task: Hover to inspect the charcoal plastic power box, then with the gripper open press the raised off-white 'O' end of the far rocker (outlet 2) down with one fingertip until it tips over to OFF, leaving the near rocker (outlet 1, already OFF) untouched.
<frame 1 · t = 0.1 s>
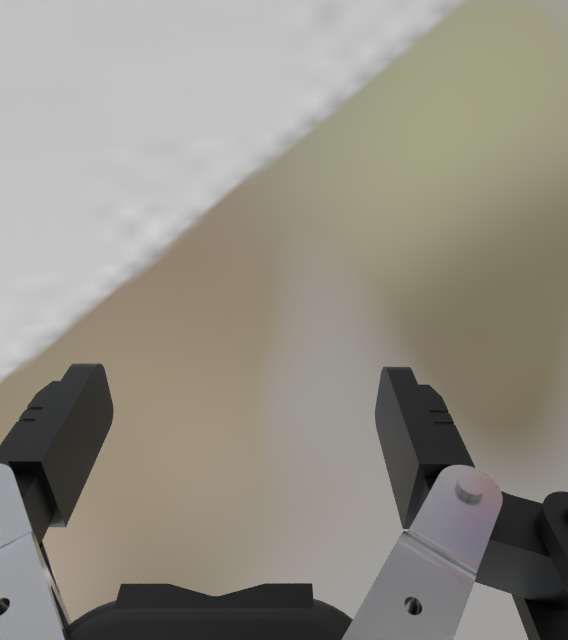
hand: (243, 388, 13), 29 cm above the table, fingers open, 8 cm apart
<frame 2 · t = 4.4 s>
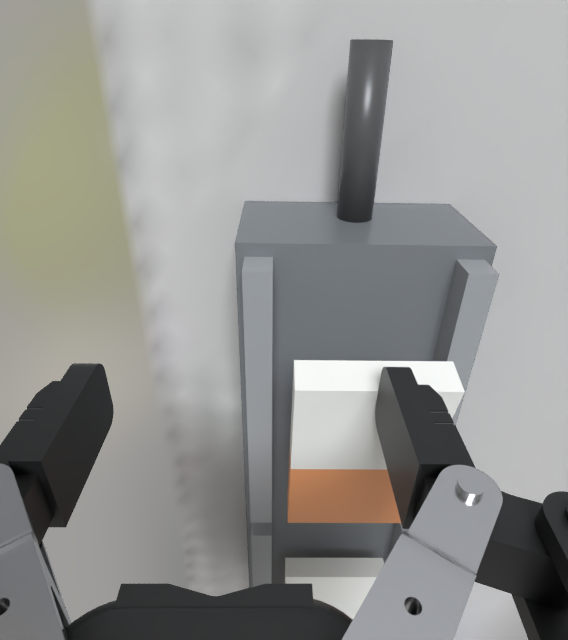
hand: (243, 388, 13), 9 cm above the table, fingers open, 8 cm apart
rocker 2: (357, 454, 17), point 8 cm above the table, hinge at 11.6°, touching gripper
power box: (326, 434, 27), on the table
rocker 1: (331, 636, 24), point 8 cm above the table, hinge at -15.0°
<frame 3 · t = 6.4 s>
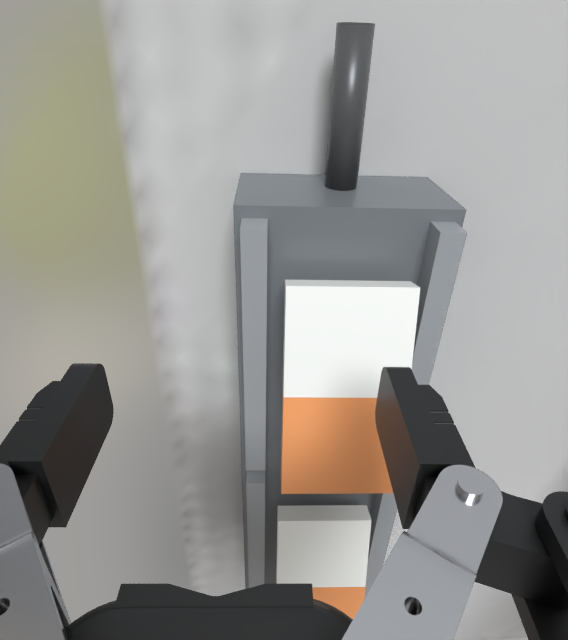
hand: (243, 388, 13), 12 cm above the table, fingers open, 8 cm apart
rocker 2: (343, 391, 18), point 8 cm above the table, hinge at -15.1°
power box: (315, 397, 29), on the table
rocker 1: (320, 578, 26), point 8 cm above the table, hinge at -15.0°
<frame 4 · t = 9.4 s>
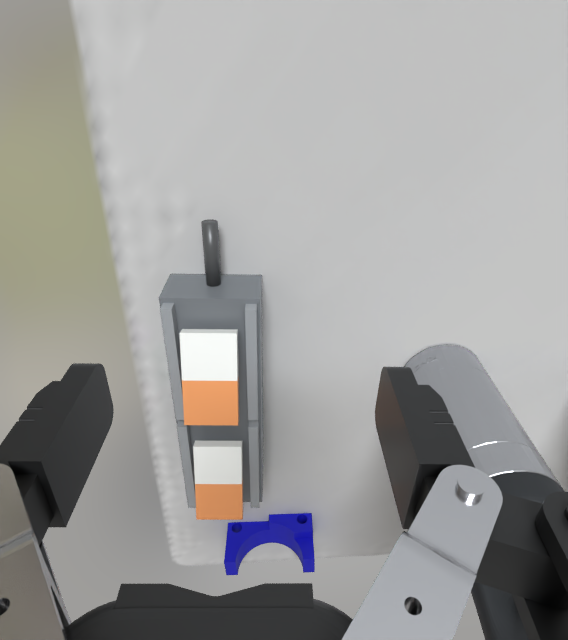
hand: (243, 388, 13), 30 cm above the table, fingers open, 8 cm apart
rocker 2: (210, 378, 41), point 8 cm above the table, hinge at -15.1°
power box: (223, 385, 51), on the table
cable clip: (270, 522, 65), on the table
rocker 1: (219, 480, 48), point 8 cm above the table, hinge at -15.0°
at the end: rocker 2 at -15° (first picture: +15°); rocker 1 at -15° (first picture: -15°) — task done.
